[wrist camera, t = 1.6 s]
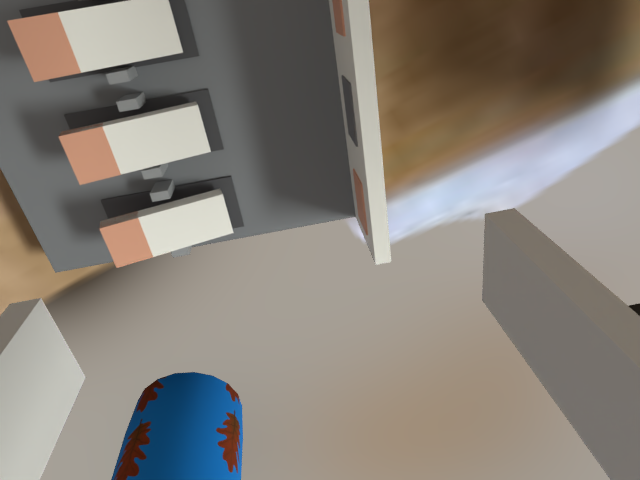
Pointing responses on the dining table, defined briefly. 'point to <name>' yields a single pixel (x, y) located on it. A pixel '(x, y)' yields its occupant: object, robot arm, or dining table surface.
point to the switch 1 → (96, 37)
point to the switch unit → (208, 124)
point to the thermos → (183, 431)
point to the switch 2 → (135, 142)
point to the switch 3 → (166, 227)
